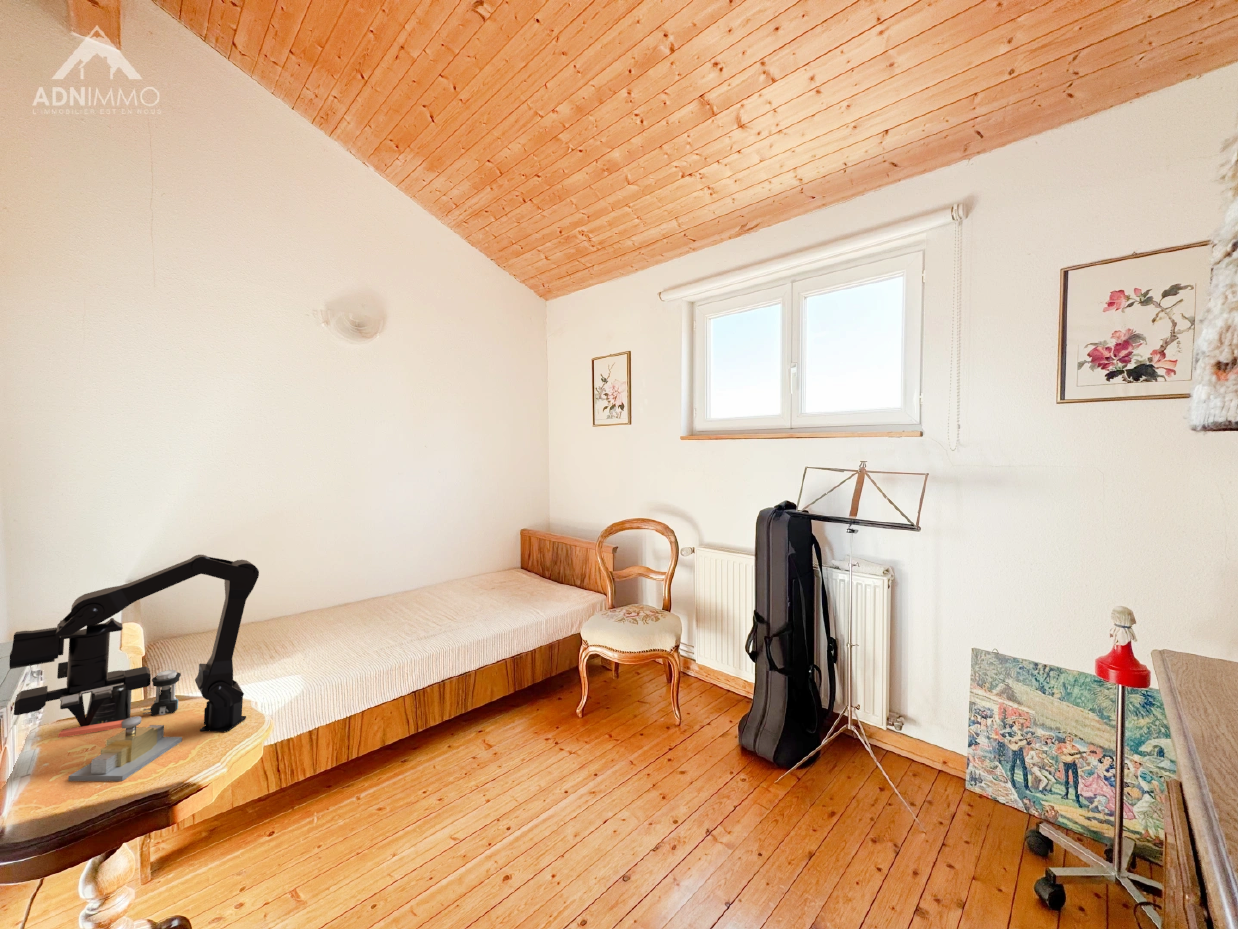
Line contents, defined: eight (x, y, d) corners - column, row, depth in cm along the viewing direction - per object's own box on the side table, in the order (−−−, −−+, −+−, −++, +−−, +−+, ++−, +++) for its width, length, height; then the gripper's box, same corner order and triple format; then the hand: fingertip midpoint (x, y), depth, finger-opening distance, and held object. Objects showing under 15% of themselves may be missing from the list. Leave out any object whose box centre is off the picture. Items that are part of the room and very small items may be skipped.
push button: (138, 720, 117) (141, 679, 117) (147, 710, 122) (149, 671, 122) (174, 715, 120) (176, 675, 120) (181, 705, 125) (184, 667, 125)
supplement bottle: (98, 720, 116) (101, 670, 117) (135, 715, 119) (138, 666, 119) (81, 734, 110) (84, 682, 110) (121, 729, 113) (124, 677, 113)
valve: (168, 740, 109) (170, 711, 109) (111, 777, 96) (113, 744, 96) (145, 740, 108) (146, 711, 108) (84, 777, 95) (86, 744, 95)
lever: (143, 720, 104) (143, 715, 104) (138, 726, 101) (138, 722, 101) (64, 732, 98) (64, 727, 98) (56, 740, 96) (56, 734, 96)
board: (181, 741, 109) (182, 737, 109) (122, 781, 95) (122, 776, 95) (135, 741, 109) (135, 736, 109) (68, 781, 95) (68, 776, 95)
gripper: (148, 634, 112) (144, 700, 112) (21, 654, 98) (17, 730, 98) (152, 648, 105) (148, 719, 105) (15, 673, 91) (11, 754, 91)
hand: (84, 729), depth 100 cm, fingers closed
